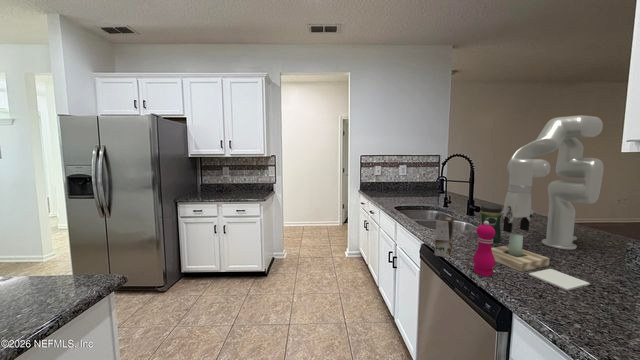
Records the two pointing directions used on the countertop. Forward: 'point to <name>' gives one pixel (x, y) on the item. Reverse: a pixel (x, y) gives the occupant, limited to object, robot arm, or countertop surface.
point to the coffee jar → (492, 218)
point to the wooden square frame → (519, 259)
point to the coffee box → (444, 236)
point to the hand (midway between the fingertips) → (515, 230)
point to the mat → (559, 279)
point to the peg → (515, 245)
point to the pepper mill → (484, 250)
